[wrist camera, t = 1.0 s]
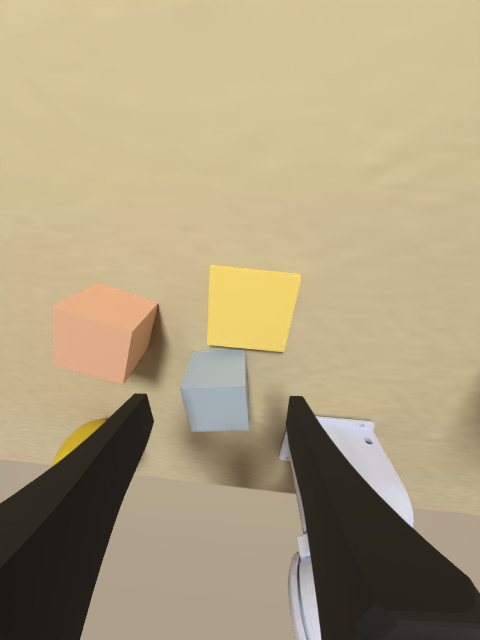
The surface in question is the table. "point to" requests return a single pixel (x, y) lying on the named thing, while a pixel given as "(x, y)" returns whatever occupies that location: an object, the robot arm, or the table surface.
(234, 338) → the tile
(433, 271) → the table surface
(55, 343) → the terracotta block
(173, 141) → the table surface
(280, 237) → the table surface
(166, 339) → the table surface
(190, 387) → the slate block
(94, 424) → the lemon
